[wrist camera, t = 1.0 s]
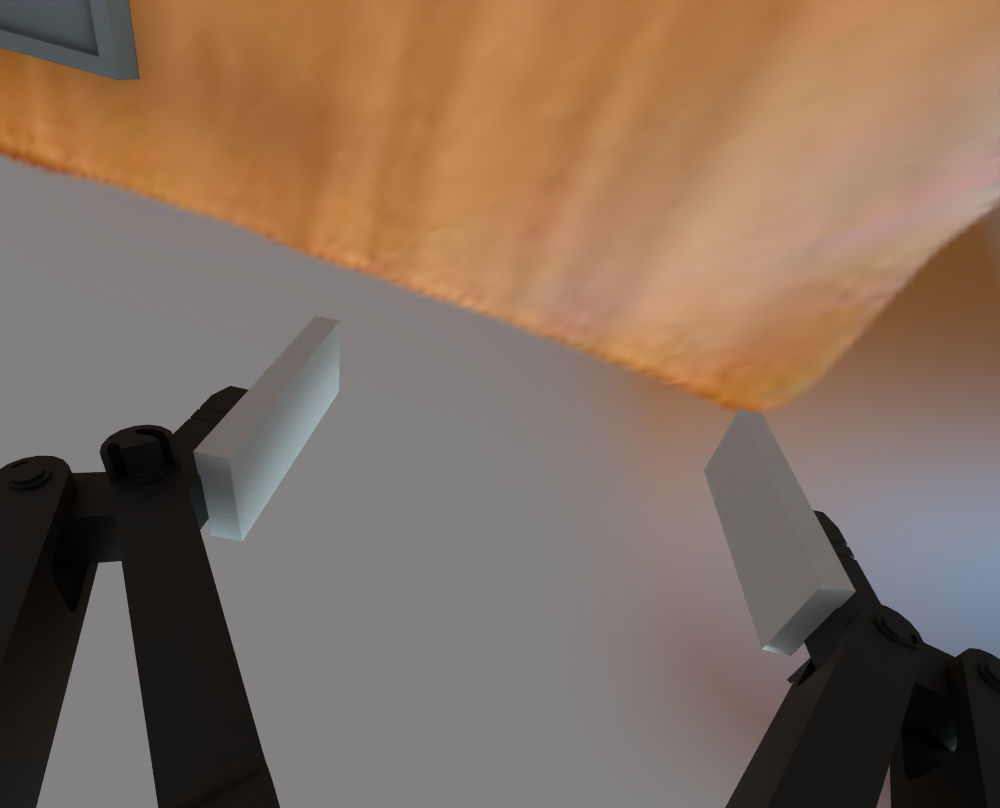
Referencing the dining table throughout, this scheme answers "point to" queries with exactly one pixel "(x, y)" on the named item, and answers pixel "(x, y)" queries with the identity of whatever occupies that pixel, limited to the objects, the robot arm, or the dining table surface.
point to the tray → (72, 34)
